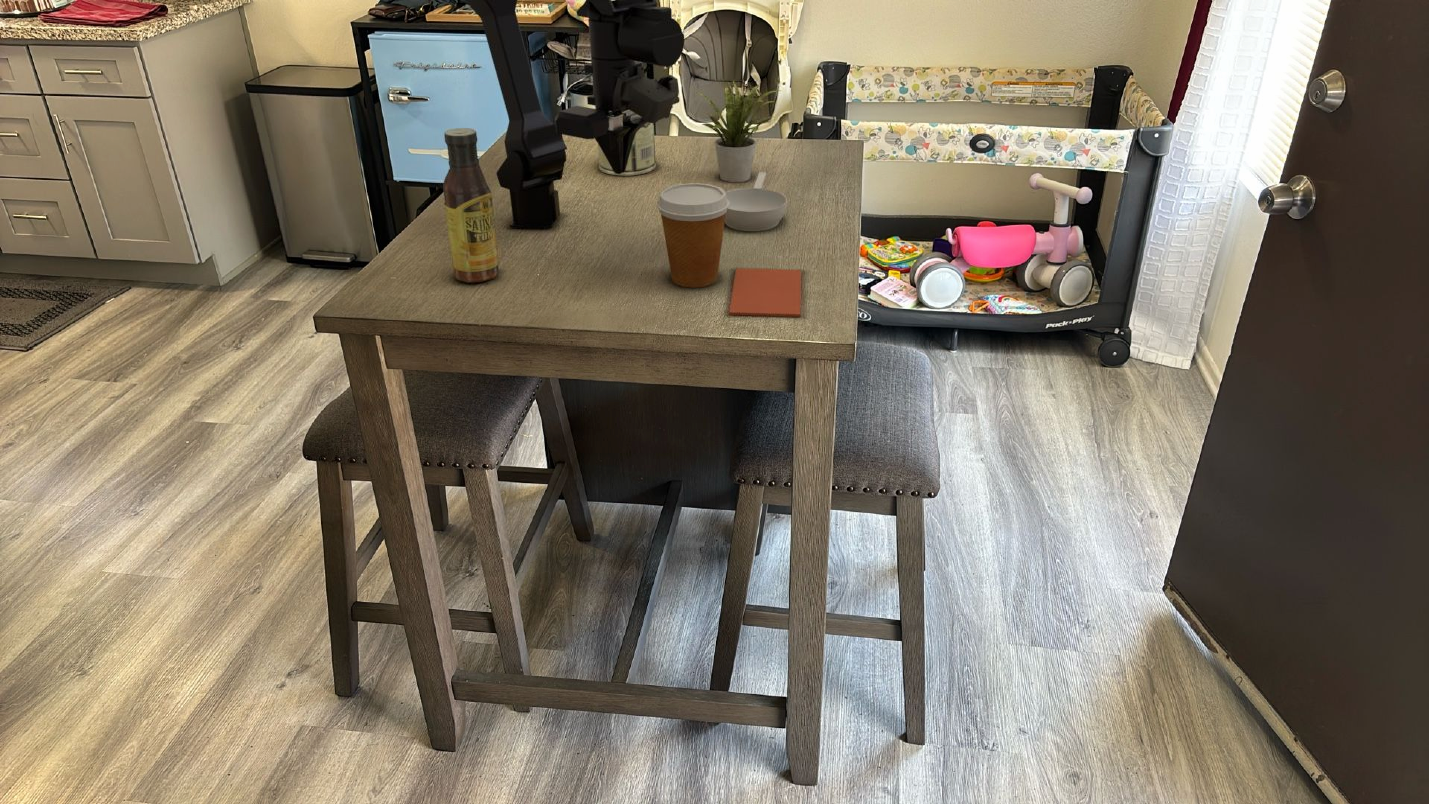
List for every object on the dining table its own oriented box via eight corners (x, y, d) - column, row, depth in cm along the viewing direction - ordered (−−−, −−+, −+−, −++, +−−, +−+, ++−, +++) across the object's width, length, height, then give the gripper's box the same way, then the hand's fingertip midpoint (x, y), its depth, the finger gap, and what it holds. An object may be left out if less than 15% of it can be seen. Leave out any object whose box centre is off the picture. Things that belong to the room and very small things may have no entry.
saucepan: (711, 231, 150) (711, 207, 148) (730, 192, 165) (730, 170, 163) (782, 235, 148) (782, 211, 146) (794, 196, 163) (795, 173, 161)
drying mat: (729, 315, 125) (729, 312, 125) (736, 270, 137) (736, 268, 137) (800, 317, 124) (800, 314, 124) (801, 272, 136) (801, 269, 136)
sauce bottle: (477, 288, 132) (456, 141, 122) (444, 279, 135) (421, 134, 125) (511, 272, 137) (493, 129, 127) (477, 263, 140) (458, 122, 130)
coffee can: (609, 156, 182) (604, 78, 175) (662, 160, 180) (660, 81, 173) (590, 174, 174) (584, 92, 167) (646, 178, 172) (643, 95, 165)
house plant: (799, 179, 170) (803, 83, 162) (739, 197, 163) (740, 97, 154) (744, 161, 180) (745, 68, 171) (685, 176, 172) (683, 81, 164)
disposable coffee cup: (722, 295, 130) (721, 208, 124) (652, 290, 132) (648, 203, 125) (735, 267, 138) (735, 184, 132) (669, 262, 140) (666, 180, 133)
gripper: (618, 77, 118) (625, 203, 126) (704, 49, 131) (705, 164, 139) (547, 66, 123) (558, 187, 131) (636, 40, 136) (641, 152, 144)
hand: (619, 172), depth 136 cm, fingers closed
